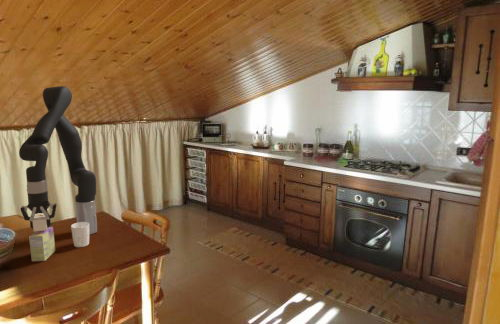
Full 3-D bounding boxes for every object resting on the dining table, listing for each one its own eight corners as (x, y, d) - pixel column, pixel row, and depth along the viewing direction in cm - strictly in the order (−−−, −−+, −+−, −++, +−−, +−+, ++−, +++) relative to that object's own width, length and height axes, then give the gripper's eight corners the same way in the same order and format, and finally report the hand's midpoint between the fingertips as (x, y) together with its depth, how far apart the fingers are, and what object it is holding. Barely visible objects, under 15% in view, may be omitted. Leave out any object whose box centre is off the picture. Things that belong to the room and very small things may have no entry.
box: (42, 251, 166) (40, 226, 163) (55, 251, 166) (53, 226, 164) (31, 261, 156) (28, 236, 153) (44, 261, 156) (42, 235, 154)
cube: (48, 226, 162) (47, 215, 161) (46, 230, 157) (45, 219, 156) (35, 227, 160) (34, 216, 159) (33, 231, 155) (32, 220, 154)
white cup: (94, 242, 176) (92, 223, 174) (81, 249, 169) (80, 228, 167) (81, 240, 179) (80, 221, 177) (68, 246, 171) (67, 226, 169)
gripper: (57, 187, 161) (60, 223, 164) (19, 189, 156) (23, 226, 159) (55, 191, 154) (58, 229, 158) (16, 194, 149) (20, 233, 152)
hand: (40, 227), depth 158 cm, fingers closed on cube, 5 cm apart
